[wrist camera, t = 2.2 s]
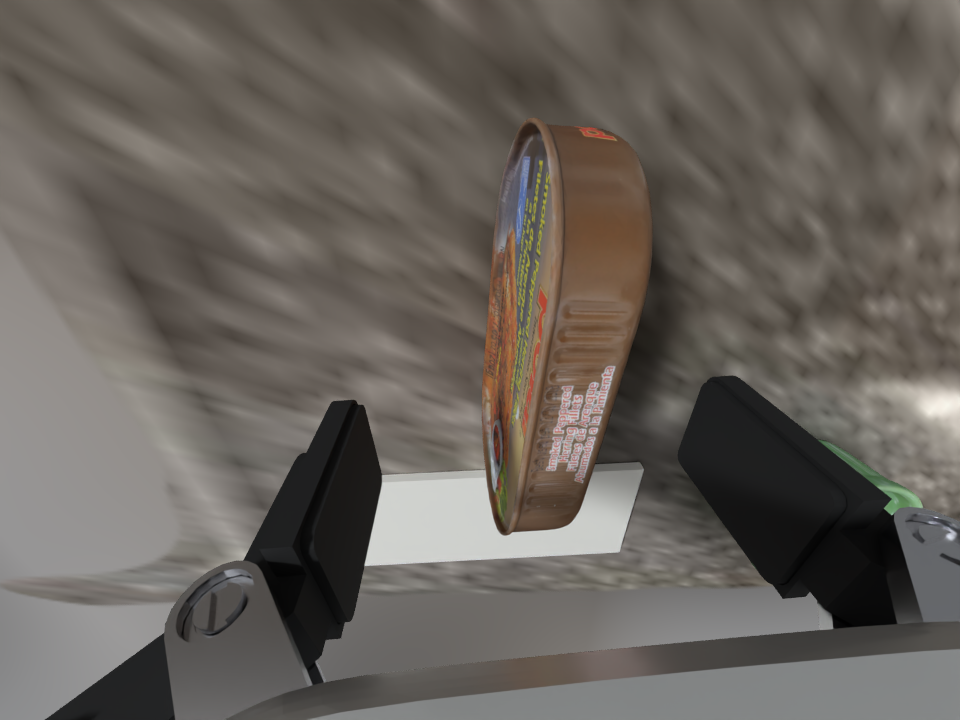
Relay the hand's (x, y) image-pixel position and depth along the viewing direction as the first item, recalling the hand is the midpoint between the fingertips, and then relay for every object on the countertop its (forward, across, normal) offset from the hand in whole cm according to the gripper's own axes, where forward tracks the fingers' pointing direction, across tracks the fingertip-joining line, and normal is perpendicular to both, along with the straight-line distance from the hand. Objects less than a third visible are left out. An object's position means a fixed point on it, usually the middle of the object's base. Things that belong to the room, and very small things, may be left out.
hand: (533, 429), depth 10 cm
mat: (+8, +1, +15) cm, 17 cm away
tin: (+8, -1, 0) cm, 8 cm away
